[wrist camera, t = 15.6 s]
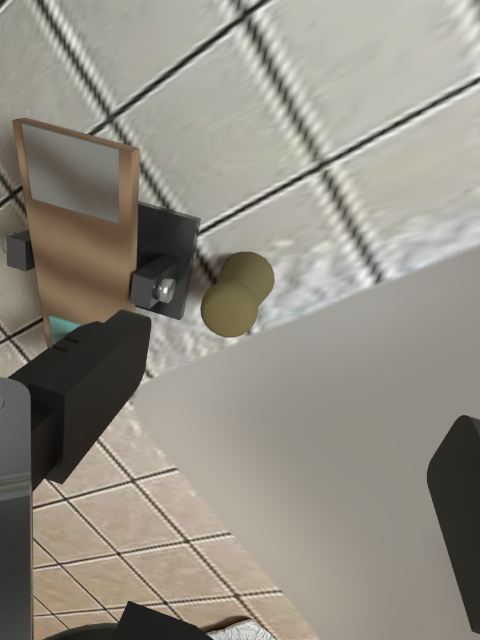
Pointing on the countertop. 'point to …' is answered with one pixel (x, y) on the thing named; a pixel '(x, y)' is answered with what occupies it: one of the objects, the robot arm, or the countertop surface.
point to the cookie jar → (242, 632)
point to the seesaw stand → (142, 258)
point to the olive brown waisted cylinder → (237, 294)
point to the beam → (79, 222)
